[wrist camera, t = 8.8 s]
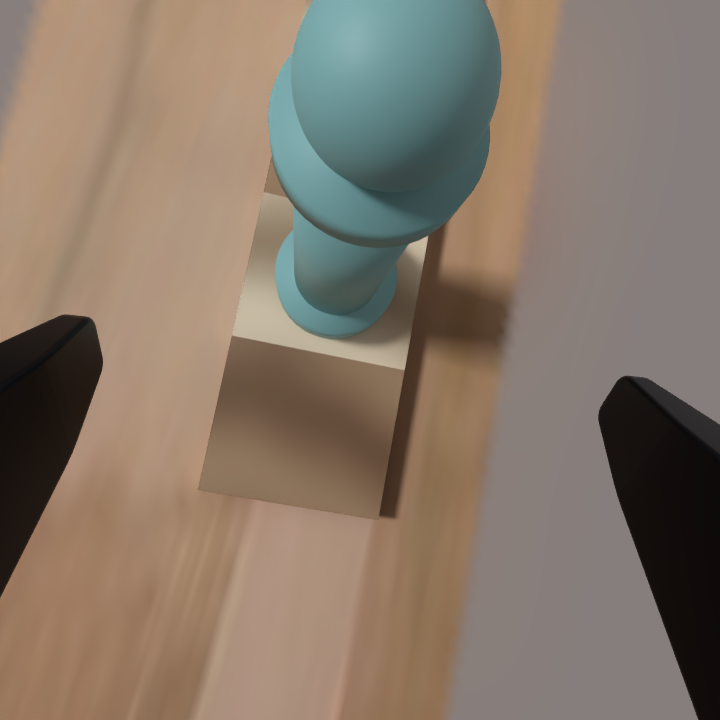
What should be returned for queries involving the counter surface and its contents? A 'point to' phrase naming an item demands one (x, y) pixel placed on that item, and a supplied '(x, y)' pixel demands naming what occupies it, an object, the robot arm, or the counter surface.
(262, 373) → the board
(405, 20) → the pawn
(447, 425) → the counter surface
